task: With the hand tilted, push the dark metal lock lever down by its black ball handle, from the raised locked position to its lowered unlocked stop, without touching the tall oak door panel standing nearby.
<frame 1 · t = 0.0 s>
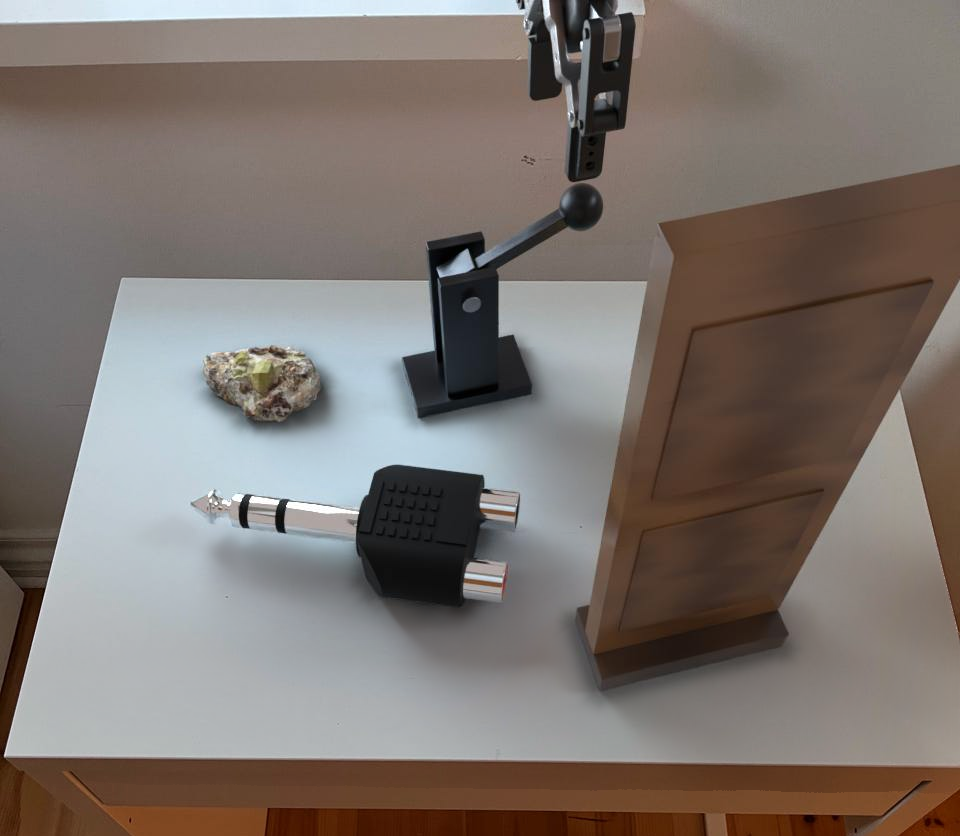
hand: (562, 135, 59), 23 cm above the table, tool pointing down, fingers open, 8 cm apart
lock lever: (521, 242, 69), point 13 cm above the table, hinge at 25.0°
mineral rock: (265, 387, 80), on the table
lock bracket: (466, 380, 80), on the table
door: (804, 287, 40), on the table
stress ball: (687, 470, 75), on the table
audio adapter: (353, 544, 73), on the table
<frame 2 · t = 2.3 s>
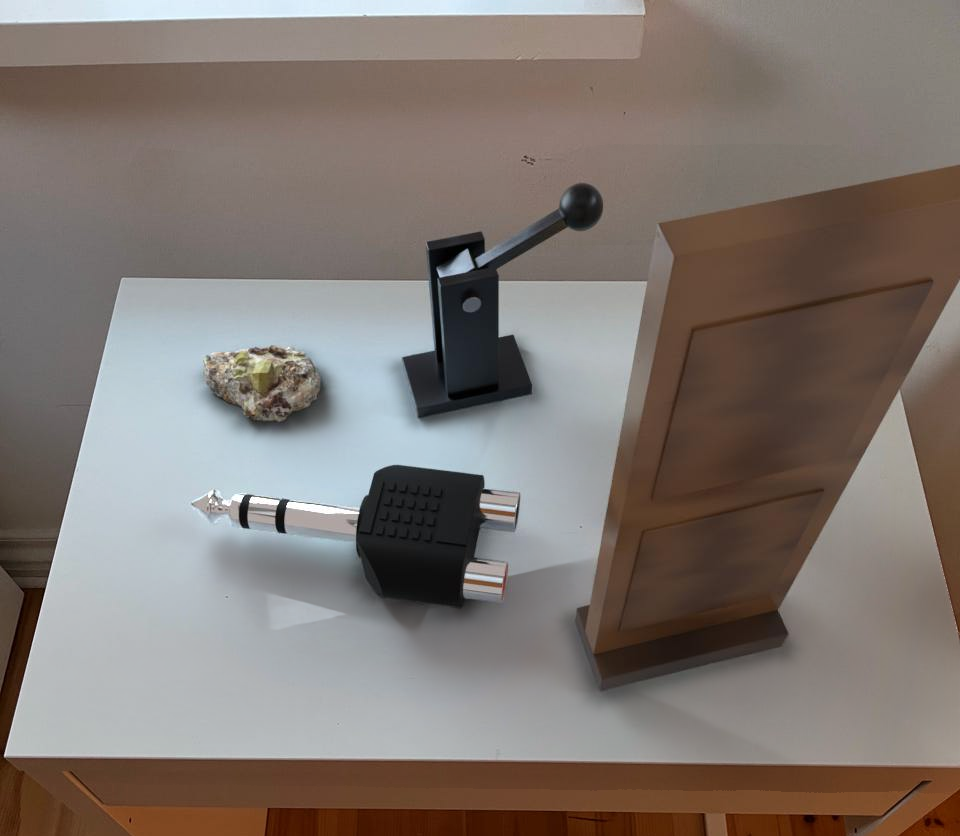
nothing on the table moved.
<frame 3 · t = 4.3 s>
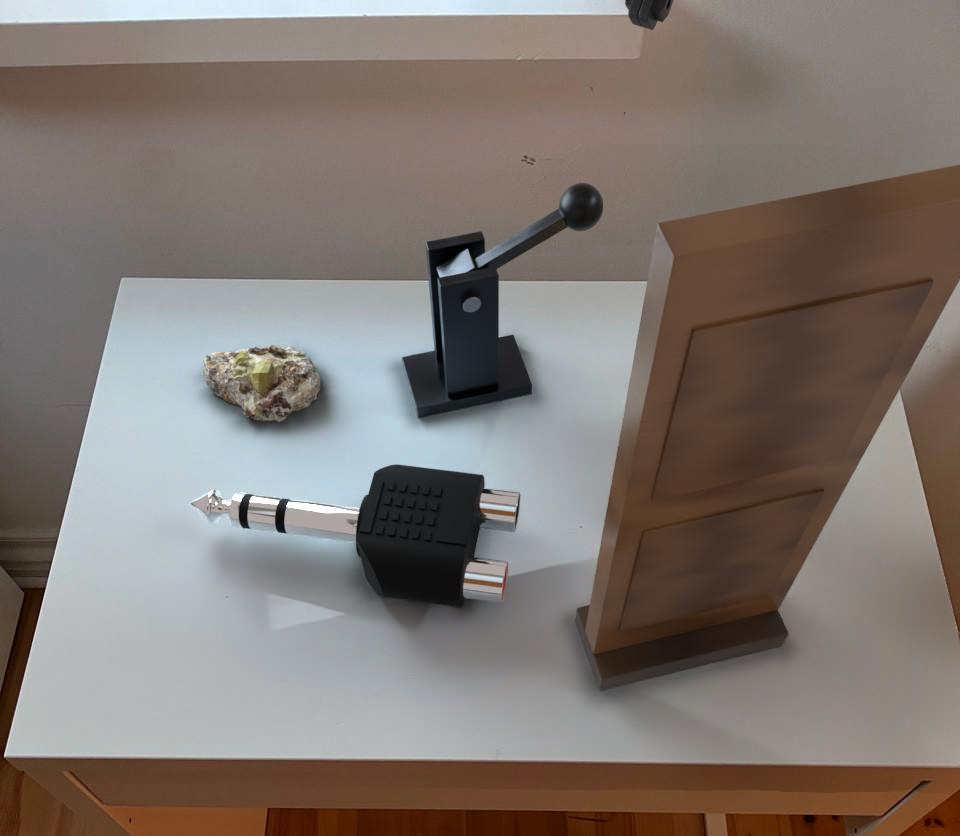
hand: (640, 22, 62), 25 cm above the table, tool tilted 45°, fingers closed
nothing on the table moved.
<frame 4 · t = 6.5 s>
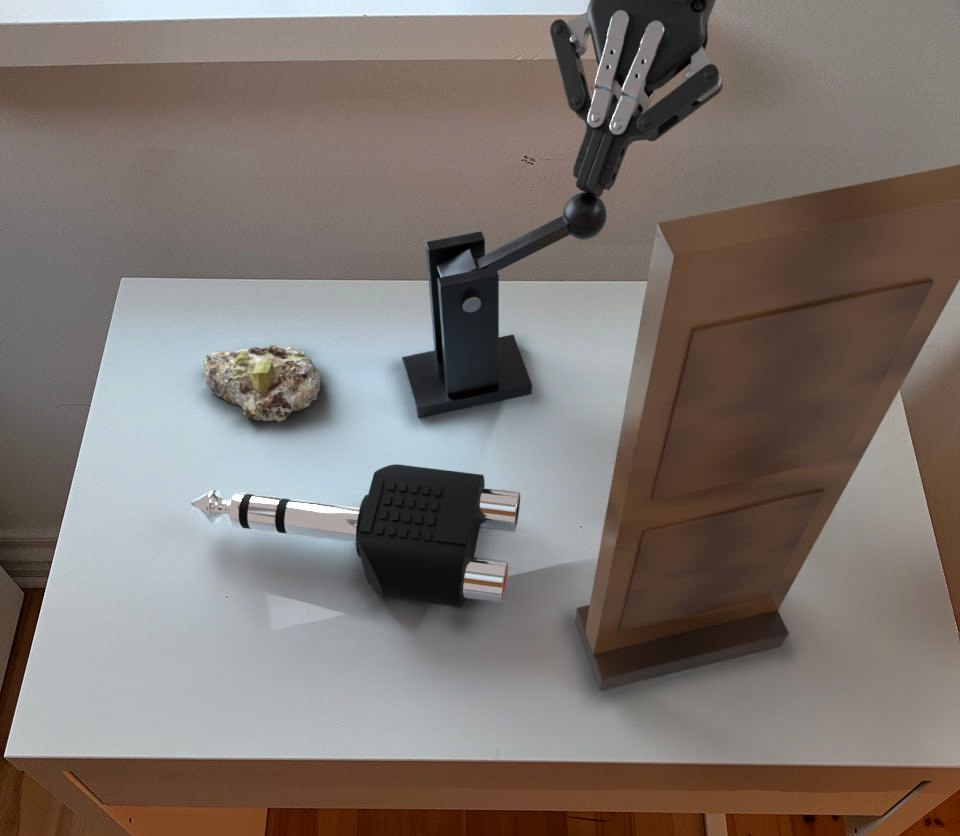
hand: (587, 191, 66), 16 cm above the table, tool tilted 45°, fingers closed
lock lever: (523, 246, 69), point 13 cm above the table, hinge at 20.0°, touching gripper
everything else where it was.
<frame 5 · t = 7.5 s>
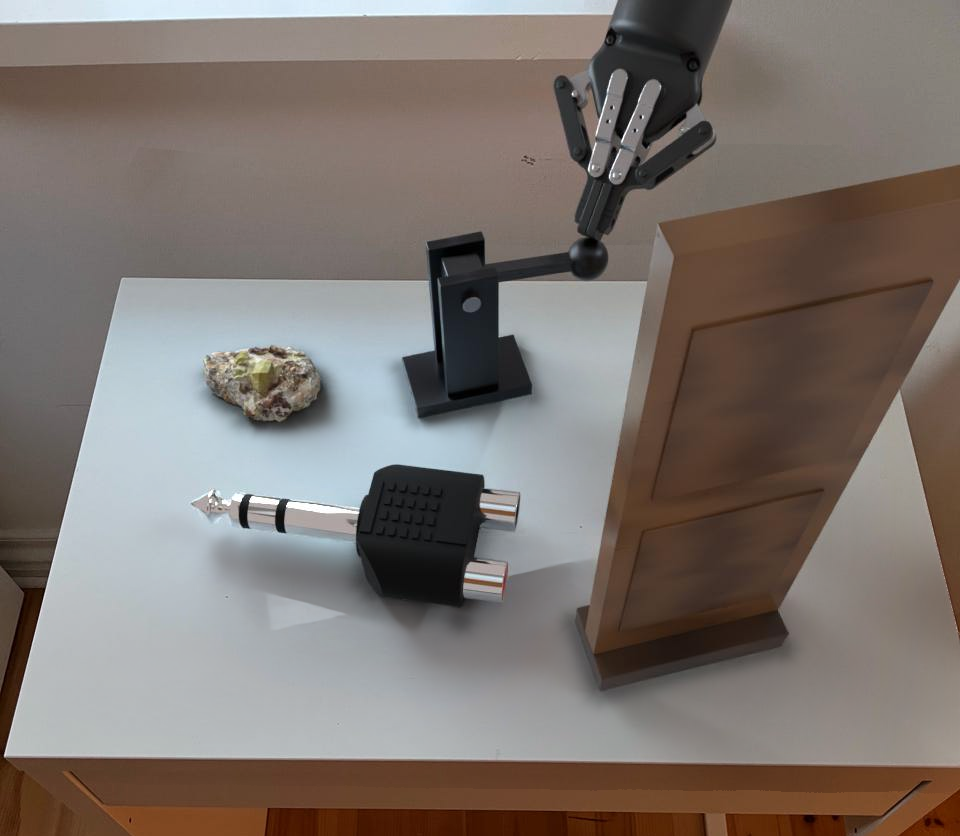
hand: (588, 236, 70), 12 cm above the table, tool tilted 45°, fingers closed
lock lever: (526, 268, 71), point 11 cm above the table, hinge at -3.2°, touching gripper
everything else where it was.
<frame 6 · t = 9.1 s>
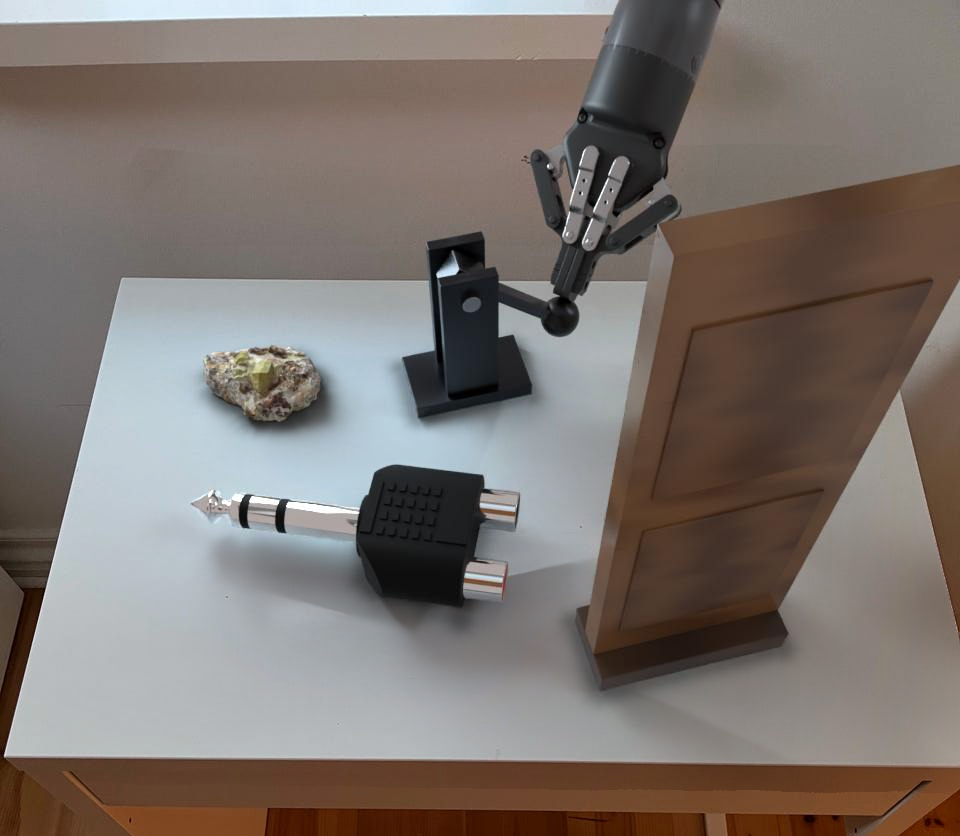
hand: (563, 297, 75), 7 cm above the table, tool tilted 45°, fingers closed
lock lever: (514, 298, 73), point 8 cm above the table, hinge at -36.1°, touching gripper
everything else where it was.
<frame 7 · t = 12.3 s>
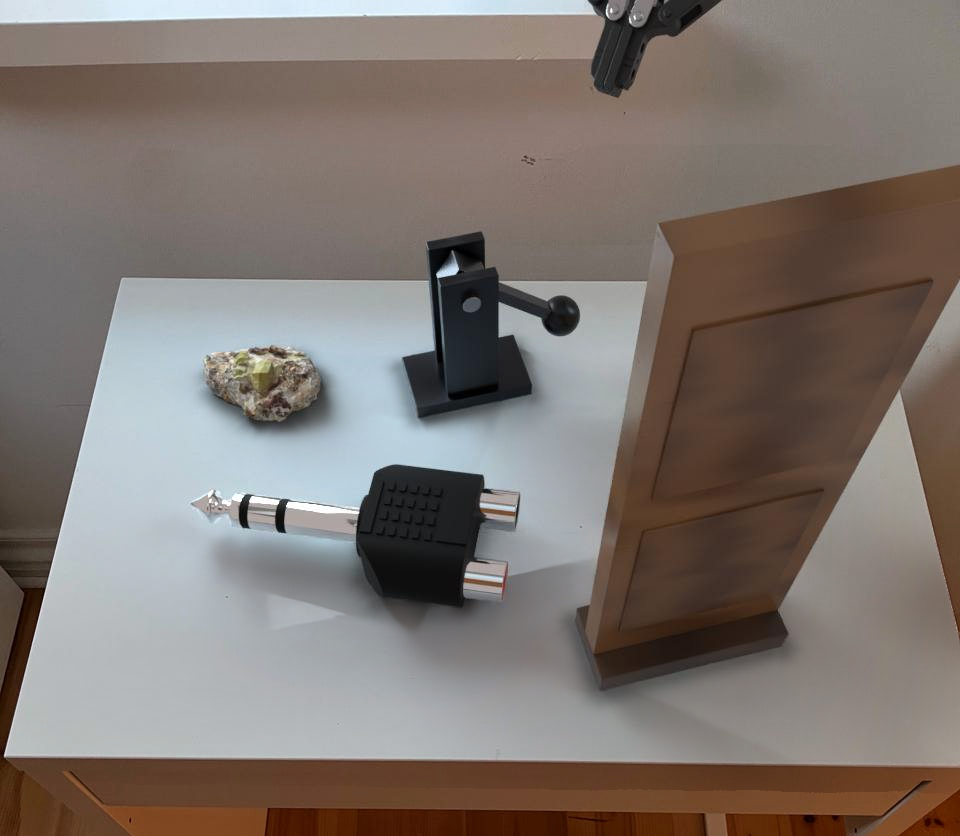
hand: (605, 91, 63), 22 cm above the table, tool tilted 45°, fingers closed
lock lever: (514, 298, 73), point 8 cm above the table, hinge at -35.6°
everything else where it was.
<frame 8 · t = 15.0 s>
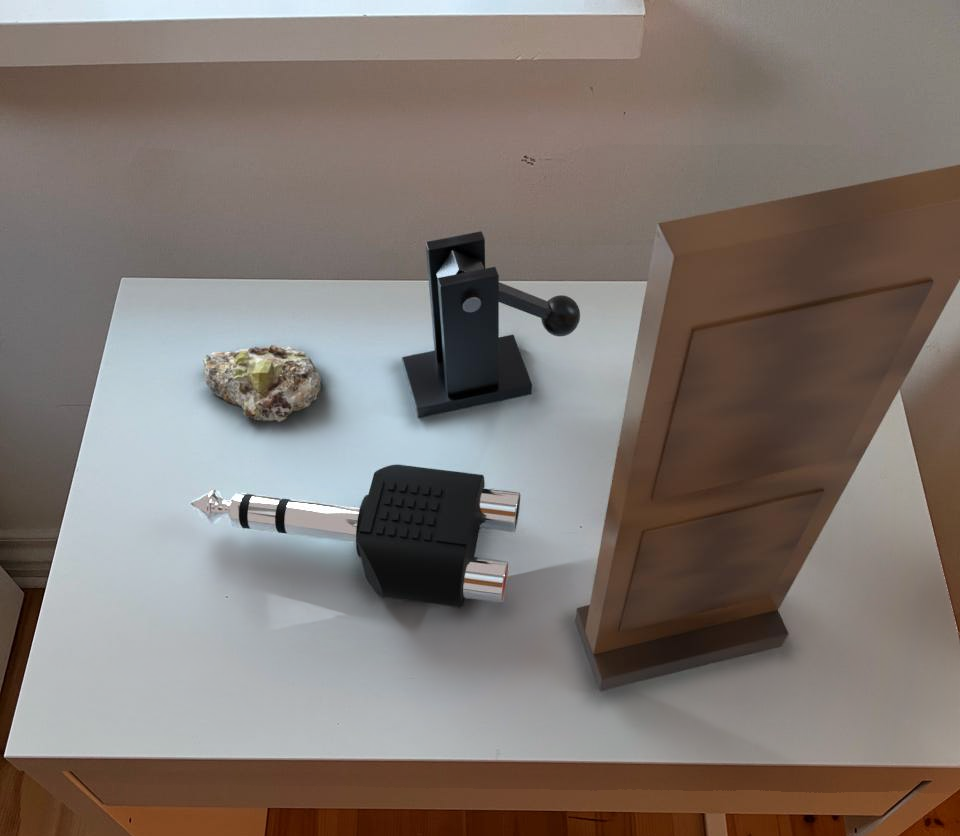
nothing on the table moved.
at the end: lock lever at -36° (first picture: +25°); lock lever reached -36° during the clip, -36° at the end; lock lever touching nothing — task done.
